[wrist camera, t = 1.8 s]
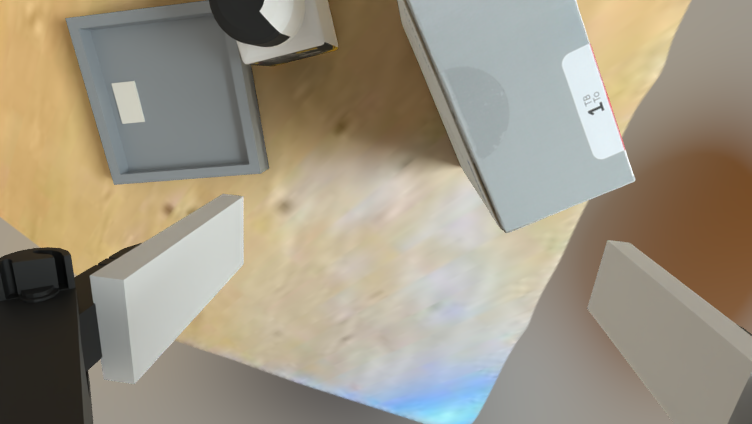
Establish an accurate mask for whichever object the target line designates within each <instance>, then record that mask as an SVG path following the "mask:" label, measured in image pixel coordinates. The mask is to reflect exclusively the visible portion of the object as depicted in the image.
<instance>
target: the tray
mask: <svg viewBox="0 0 752 424" xmlns="http://www.w3.org/2000/svg"><path fill="white" fill-rule="evenodd" d="M65 19H66V22H67V26H68V29H69V32H70V36H71V39H72V43H73V46H74V49H75V53H76V56H77V60H78V63H79V66H80V70H81V73H82V77H83V80H84V84H85V87H86V90H87V94H88V97H89V101H90V104H91V107H92V111H93V114H94V118H95V121H96V124H97V128H98V131H99V135H100V138H101V142H102V145H103V148H104V152H105V155H106V159H107V162H108V165H109V169H110V172H111V176H112V179H113V183H114V185H117V184H130V183H143V182H156V181H169V180H182V179H195V178H208V177H221V176H234V175H247V174H260V173H262V172H264V171H266V170H267V169H269V165H268V159H267V153H266V148H265V142H264V136H263V131H262V125H261V119H260V113H259V108H258V102H257V96H256V91H255V85H254V79H253V73H252V68H251V65H250V64H245V63H244V62H243V61H242V58H241V54H240V51H239V48H238V45H237V41H236V40H235V39H233V38H231V37H230V36H229V35H227V34H226V33H225V32H224V31H223V30H222V29H221V27H220V26H219V25H218V23H217V22H216V20H215V18H214V16H213V14H212V11H211V8H210V4H209V0H207V1H199V2H191V3H183V4H175V5H167V6H159V7H151V8H143V9H136V10H128V11H120V12H112V13H104V14H96V15H88V16H80V17H72V18H65Z"/></svg>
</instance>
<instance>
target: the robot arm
mask: <svg viewBox="0 0 752 424" xmlns="http://www.w3.org/2000/svg"><path fill="white" fill-rule="evenodd" d="M243 264H244V240H243V196H237V195H228V194H222V195H220V196H219V197H217V198H215V199H214V200H212V201H211V202H209V203H207V204H206V205H204V206H202V207H201V208H199V209H198V210H196V211H194V212H193V213H191V214H189V215H188V216H186V217H184V218H183V219H181V220H180V221H178V222H176V223H175V224H173V225H171V226H170V227H168V228H166V229H165V230H163V231H162V232H160V233H158V234H157V235H155V236H153V237H152V238H150V239H149V240H147V241H145V242H144V243H140V244H137V245H134V246H130V247H127V248H124V249H122V250H120V251H119V252H117V253H115V254H113V255H112V256H110V257H109V259H105V260H103V261H102V262H100V263H98V265H95V266H93V267H91V268H90V269H88V270H86V271H85V272H83V273H81V274H80V275H78V276H76V277H74V273H73V266H72V260H71V255H70V253H69V252H68V251H67V250H64V249H60V248H49V247H47V248H33V249H27V250H22V251H17V252H14V253H11V254H8V255H5V256H3V257H1V258H0V424H93V416H92V404H91V392H90V381H89V374H88V370H89V369H90V368H91V367H92V366H93V365H94V364H95V363H96V362H98V361H99V360H100V359H101V364H102V371H103V378H104V380H111V381H118V382H125V383H131V384H135V383H136V382H137V381H138V379H140V378H141V376H142V375H143V374H144V373H145V372H146V371H147V370H148V369H149V368H150V366H151V365H152V364H153V363H154V362H155V361H156V359H158V357H160V355H161V354H162V353H163V352H164V351H165V350H166V349H167V348H168V347H169V346H170V344H171V343H172V342H173V341H174V340H175V339H176V338H177V337H178V336H179V335H180V334H181V332H182V331H183V330H184V329H185V328H186V327H187V326H188V325H189V324H190V323H191V321H192V320H193V319H194V318H195V317H196V316H197V315H198V314H199V313H200V312H201V310H202V309H203V308H204V307H205V306H206V305H207V304H208V303H209V302H210V301H211V299H212V298H213V297H214V296H215V295H216V294H217V293H218V292H219V291H220V290H221V288H222V287H223V286H224V285H225V284H226V283H227V282H228V281H229V280H230V279H231V277H232V276H233V275H234V274H235V273H236V272H237V271H238V270H239V269H240V268H241V266H242V265H243ZM587 309H588V310H589V312H590V313H591V314H592V316H593V317H594V318H595V320H596V321H597V322H598V323H599V325H600V326H601V327H602V329H603V330H604V331H605V333H606V334H607V335H608V337H609V338H610V339H611V341H612V342H613V343H614V345H615V346H616V347H617V349H618V350H619V351H620V353H621V354H622V355H623V357H624V358H625V359H626V361H627V362H628V363H629V365H630V366H631V367H632V369H633V370H634V371H635V373H636V374H637V375H638V376H639V378H640V379H641V381H642V382H643V383H644V385H645V386H646V387H647V389H648V390H649V391H650V393H651V394H652V395H653V396H654V398H655V399H656V401H657V402H658V403H659V405H660V406H661V407H662V409H663V410H664V411H665V413H666V414H667V415H668V417H669V418H670V419H671V421H672V422H673V423H674V424H752V334H750V333H749V332H748V331H746V330H745V329H744V328H742V327H740V326H739V325H737V324H735V323H734V322H732V321H731V320H730V319H729V318H727V317H726V316H725V315H723V314H722V313H721V312H719V311H718V310H717V309H715V308H714V307H713V306H712V305H710V304H709V303H708V302H706V301H705V300H704V299H702V298H701V297H700V296H698V295H697V294H696V293H695V292H693V291H692V290H691V289H689V288H688V287H687V286H685V285H684V284H683V283H681V282H680V281H679V280H678V279H676V278H675V277H674V276H672V275H671V274H670V273H668V272H667V271H666V270H664V269H663V268H662V267H661V266H659V265H658V264H657V263H655V262H654V261H653V260H651V259H650V258H649V257H647V256H646V255H645V254H644V253H642V252H641V251H640V250H638V249H637V248H636V247H634V246H633V245H632V244H630V243H626V242H618V241H610V240H608V241H607V244H606V247H605V250H604V254H603V257H602V260H601V264H600V267H599V270H598V274H597V277H596V281H595V284H594V288H593V291H592V294H591V297H590V301H589V304H588V307H587Z"/></svg>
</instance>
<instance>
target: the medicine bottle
mask: <svg viewBox="0 0 752 424" xmlns="http://www.w3.org/2000/svg"><path fill="white" fill-rule="evenodd" d="M209 4H210V8H211V11H212V14H213V16H214V18H215V20H216V22H217V23H218V25H219V26H220V27H221V29H222V30H223V31H224V32H225V33H226V34H227V35H229V36H230V37H231V38H233V39H235V40H236V41H237V45H238V48H239V51H240V54H241V58H242V61H243V62H244V63H245V64H250V65H263V66H276V65H280V64H284V63H288V62H292V61H295V60H299V59H303V58H307V57H311V56H315V55H319V54H323V53H327V52H331V51H335V50H337V49H338V42H337V37H336V33H335V29H334V25H333V20H332V16H331V12H330V8H329V4H328V0H209Z"/></svg>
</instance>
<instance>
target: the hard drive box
mask: <svg viewBox="0 0 752 424" xmlns="http://www.w3.org/2000/svg"><path fill="white" fill-rule="evenodd" d="M397 2H398V7H399V13H400V18H401V22H402V26H403V28H404V30H405V33H406V35H407V37H408V40H409V42H410V44H411V47H412V49H413V51H414V54H415V56H416V59H417V61H418V63H419V66H420V68H421V71H422V73H423V75H424V78H425V80H426V83H427V85H428V88H429V90H430V93H431V95H432V97H433V100H434V102H435V105H436V107H437V110H438V112H439V114H440V117H441V119H442V122H443V124H444V127H445V129H446V131H447V134H448V136H449V139H450V141H451V144H452V146H453V149H454V151H455V153H456V156H457V158H458V161H459V163H460V166H461V168H462V169H463V171H464V173H465V174H466V176H467V177H468V179H469V180H470V182H471V183H472V185H473V186H474V188H475V190H476V191H477V193H478V194H479V196H480V197H481V199H482V200H483V202H484V204H485V205H486V207H487V208H488V210H489V212H490V213H491V215H492V217H493V218H494V220H495V221H496V223H497V225H498V226H499V227H500V228H501V229H502V230H504V232H505V233H509V232H512V231H515V230H517V229H520V228H522V227H525V226H527V225H529V224H532V223H534V222H537V221H539V220H541V219H544V218H546V217H548V216H551V215H553V214H556V213H558V212H560V211H563V210H565V209H567V208H570V207H572V206H575V205H577V204H580V203H582V202H585V201H587V200H590V199H592V198H595V197H597V196H600V195H602V194H605V193H607V192H610V191H612V190H615V189H617V188H619V187H622V186H624V185H626V184H629V183H632V182H634V181H635V177H634V175H633V172H632V169H631V166H630V163H629V160H628V157H627V154H626V150H625V146H624V143H623V140H622V137H621V134H620V131H619V128H618V125H617V122H616V119H615V116H614V113H613V110H612V106H611V103H610V100H609V97H608V94H607V92H606V89H605V86H604V83H603V80H602V77H601V74H600V71H599V68H598V65H597V62H596V59H595V56H594V52H593V49H592V47H591V44H590V42H589V39H588V36H587V33H586V30H585V27H584V24H583V21H582V18H581V15H580V11H579V8H578V5H577V2H576V0H397Z"/></svg>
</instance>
